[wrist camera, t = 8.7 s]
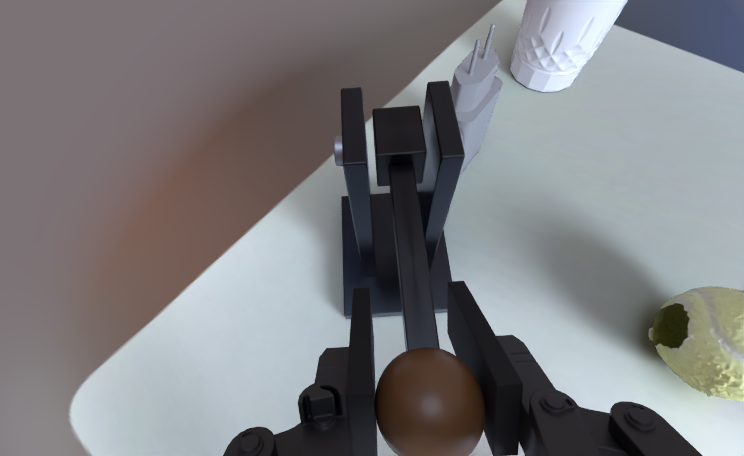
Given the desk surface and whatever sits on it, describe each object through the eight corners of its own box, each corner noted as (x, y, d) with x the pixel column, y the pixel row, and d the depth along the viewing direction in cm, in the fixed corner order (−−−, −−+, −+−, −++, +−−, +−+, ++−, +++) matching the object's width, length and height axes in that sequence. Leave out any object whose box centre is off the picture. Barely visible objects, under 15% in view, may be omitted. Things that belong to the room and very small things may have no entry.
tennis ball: (741, 331, 25) (854, 306, 19) (732, 427, 22) (858, 433, 16) (643, 289, 26) (718, 253, 20) (624, 373, 24) (702, 361, 18)
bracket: (454, 312, 26) (520, 213, 13) (345, 319, 26) (303, 229, 13) (435, 197, 31) (470, 37, 18) (343, 203, 31) (309, 50, 18)
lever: (481, 458, 12) (513, 474, 9) (379, 465, 13) (376, 482, 9) (428, 146, 19) (435, 93, 16) (361, 151, 19) (356, 99, 16)
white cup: (561, 109, 35) (621, 5, 26) (489, 76, 37) (522, -29, 28) (594, 64, 37) (659, -44, 28) (525, 36, 40) (565, -71, 31)
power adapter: (483, 144, 33) (529, 18, 22) (452, 183, 31) (486, 66, 21) (454, 129, 34) (485, 1, 23) (423, 166, 32) (441, 46, 22)
